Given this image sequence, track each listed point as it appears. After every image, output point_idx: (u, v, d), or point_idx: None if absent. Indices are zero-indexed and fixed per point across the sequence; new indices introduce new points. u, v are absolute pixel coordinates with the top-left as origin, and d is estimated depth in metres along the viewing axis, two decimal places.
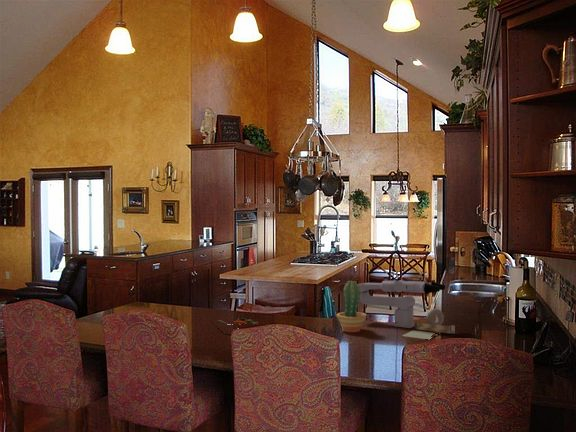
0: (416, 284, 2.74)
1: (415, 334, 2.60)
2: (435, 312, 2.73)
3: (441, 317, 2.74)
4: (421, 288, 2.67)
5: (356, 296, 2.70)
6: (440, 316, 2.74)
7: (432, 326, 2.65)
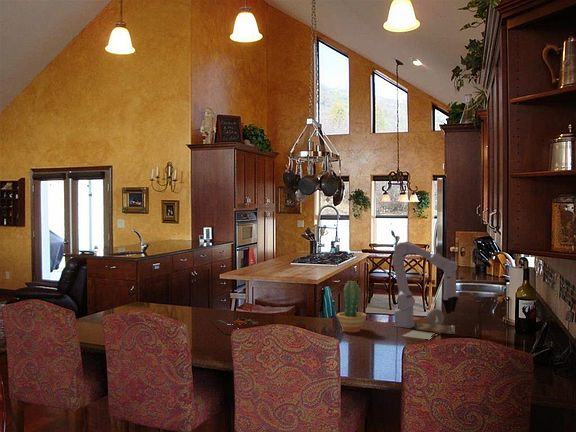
0: (451, 287, 2.64)
1: (415, 334, 2.60)
2: (435, 312, 2.73)
3: (441, 317, 2.74)
4: (446, 298, 2.61)
5: (356, 296, 2.70)
6: (440, 316, 2.74)
7: (432, 326, 2.65)
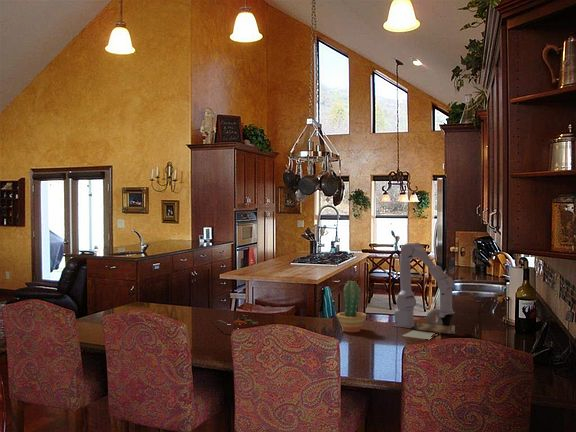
0: (447, 305, 2.59)
1: (415, 334, 2.60)
2: (435, 312, 2.73)
3: None
4: (442, 316, 2.56)
5: (356, 296, 2.70)
6: None
7: (432, 326, 2.65)
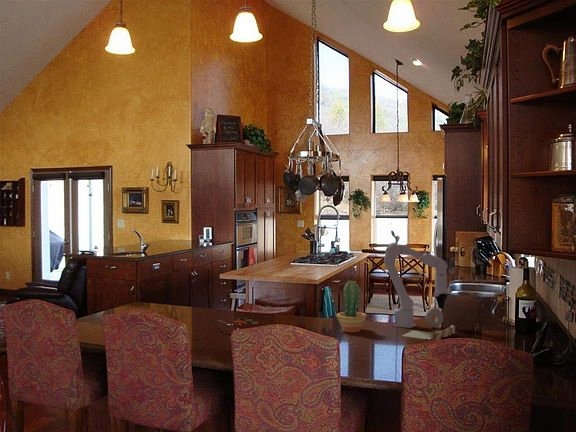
0: (442, 284, 2.75)
1: (415, 334, 2.60)
2: (434, 310, 2.75)
3: (440, 316, 2.75)
4: (436, 294, 2.72)
5: (356, 296, 2.70)
6: (439, 315, 2.75)
7: (443, 332, 2.52)
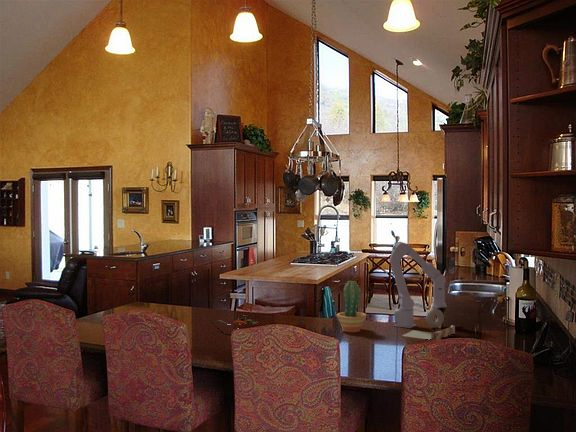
0: (440, 298, 2.77)
1: (415, 334, 2.60)
2: (435, 312, 2.73)
3: (441, 317, 2.74)
4: (434, 309, 2.73)
5: (356, 296, 2.70)
6: (440, 316, 2.74)
7: (443, 332, 2.52)
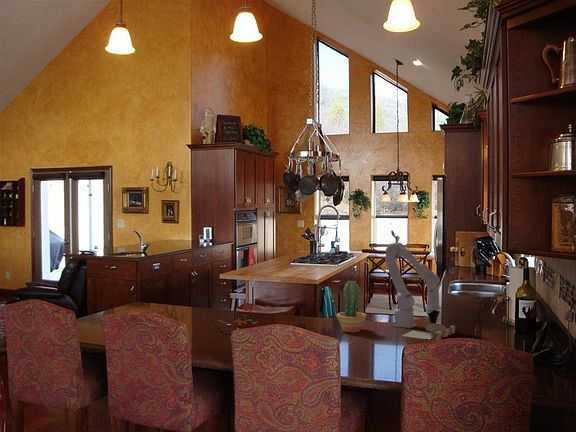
0: (434, 301, 2.70)
1: (415, 334, 2.60)
2: (433, 332, 2.63)
3: None
4: (428, 311, 2.67)
5: (356, 296, 2.70)
6: None
7: (443, 332, 2.52)
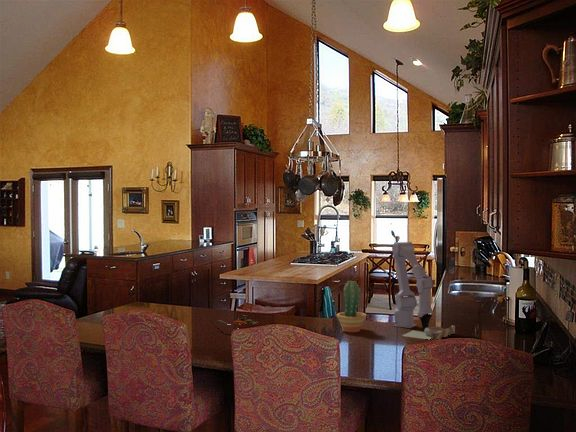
0: (426, 304, 2.61)
1: (415, 334, 2.60)
2: None
3: None
4: (420, 315, 2.58)
5: (356, 296, 2.70)
6: None
7: (443, 332, 2.52)
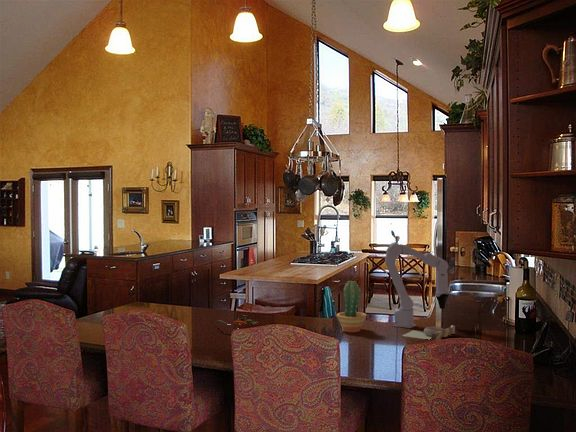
0: (443, 285, 2.75)
1: (415, 334, 2.60)
2: None
3: None
4: (437, 295, 2.72)
5: (356, 296, 2.70)
6: None
7: (443, 332, 2.52)
